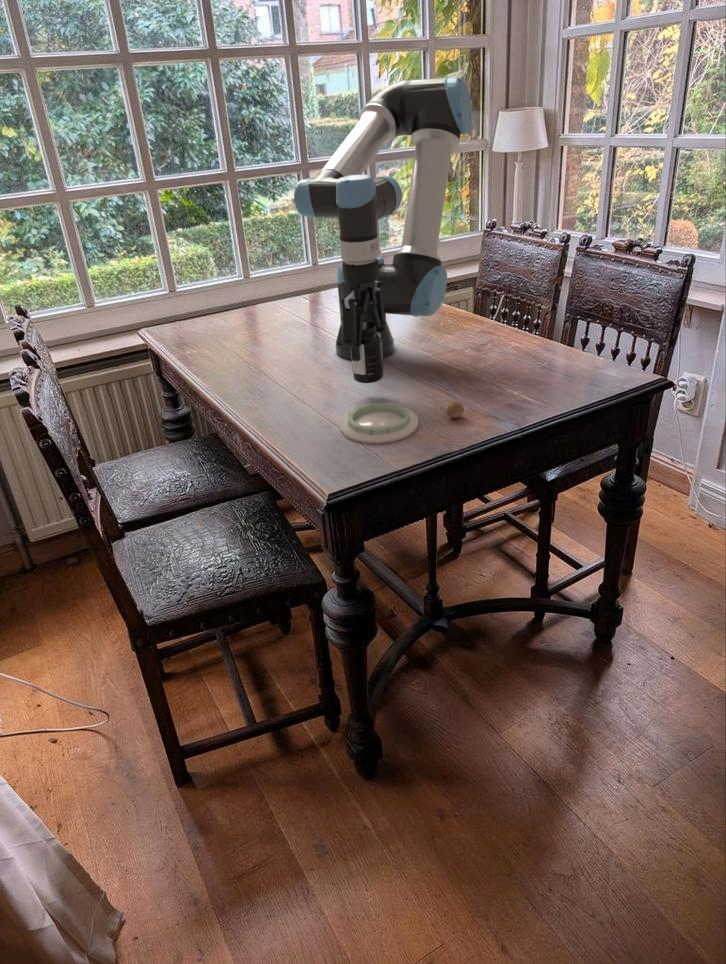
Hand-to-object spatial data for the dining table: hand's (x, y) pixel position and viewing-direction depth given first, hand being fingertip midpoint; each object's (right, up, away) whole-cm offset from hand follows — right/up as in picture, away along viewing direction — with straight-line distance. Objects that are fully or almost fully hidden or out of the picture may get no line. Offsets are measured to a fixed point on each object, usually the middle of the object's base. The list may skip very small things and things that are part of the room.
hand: (367, 366), depth 149 cm
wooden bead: (+18, -12, -9) cm, 23 cm away
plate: (+2, -14, -10) cm, 17 cm away
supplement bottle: (0, -2, +1) cm, 3 cm away
